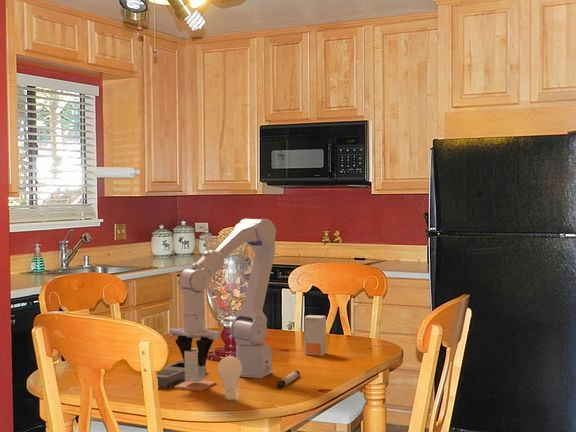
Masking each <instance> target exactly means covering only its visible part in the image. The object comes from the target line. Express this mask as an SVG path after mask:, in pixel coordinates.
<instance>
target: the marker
mask: <svg viewBox="0 0 576 432" xmlns="http://www.w3.org/2000/svg"><path fill="white" fill-rule="evenodd" d="M300 375H301V372H300V371H299V370H297V369H296V370H294V371H292V372H291V373H289V374H288V375H286V376H285V377H283V378H282V379H280V380H279V381H278V382H277V383H276V388H277V389H281V388H283V389H284V388H285V387H286V386H288V385H289V384H291V383H292V382H293V381H294V380H296V379H298V378H299V377H300Z"/></svg>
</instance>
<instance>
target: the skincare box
mask: <svg viewBox="0 0 576 432" xmlns="http://www.w3.org/2000/svg"><path fill="white" fill-rule="evenodd" d="M303 321H304V325H303V326H304V330H303V331H304V335H303V336H304V337H303V338H304V347H303V348H304V351H303V352H304V355H310V356H321V357H323V356H324V355H325V354H327V316H326V315H319V314H318V315H313V314H309V315H305V316H304V319H303Z"/></svg>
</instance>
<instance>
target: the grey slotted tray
mask: <svg viewBox="0 0 576 432" xmlns="http://www.w3.org/2000/svg"><path fill="white" fill-rule="evenodd" d="M206 365H207V363H206V364H205V373H207V366H206ZM163 367H164V366H163ZM157 378H158V386H159V388H158V389H166V390H168V389H170V388H172V387H174V386H176V385H178V384H181V383H183V382H185V364H184V360H183V359H181V360H178V361H176V362H173V363H170V364H167V365H165V367H164V369H163V370H161V371H159V372H157Z"/></svg>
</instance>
